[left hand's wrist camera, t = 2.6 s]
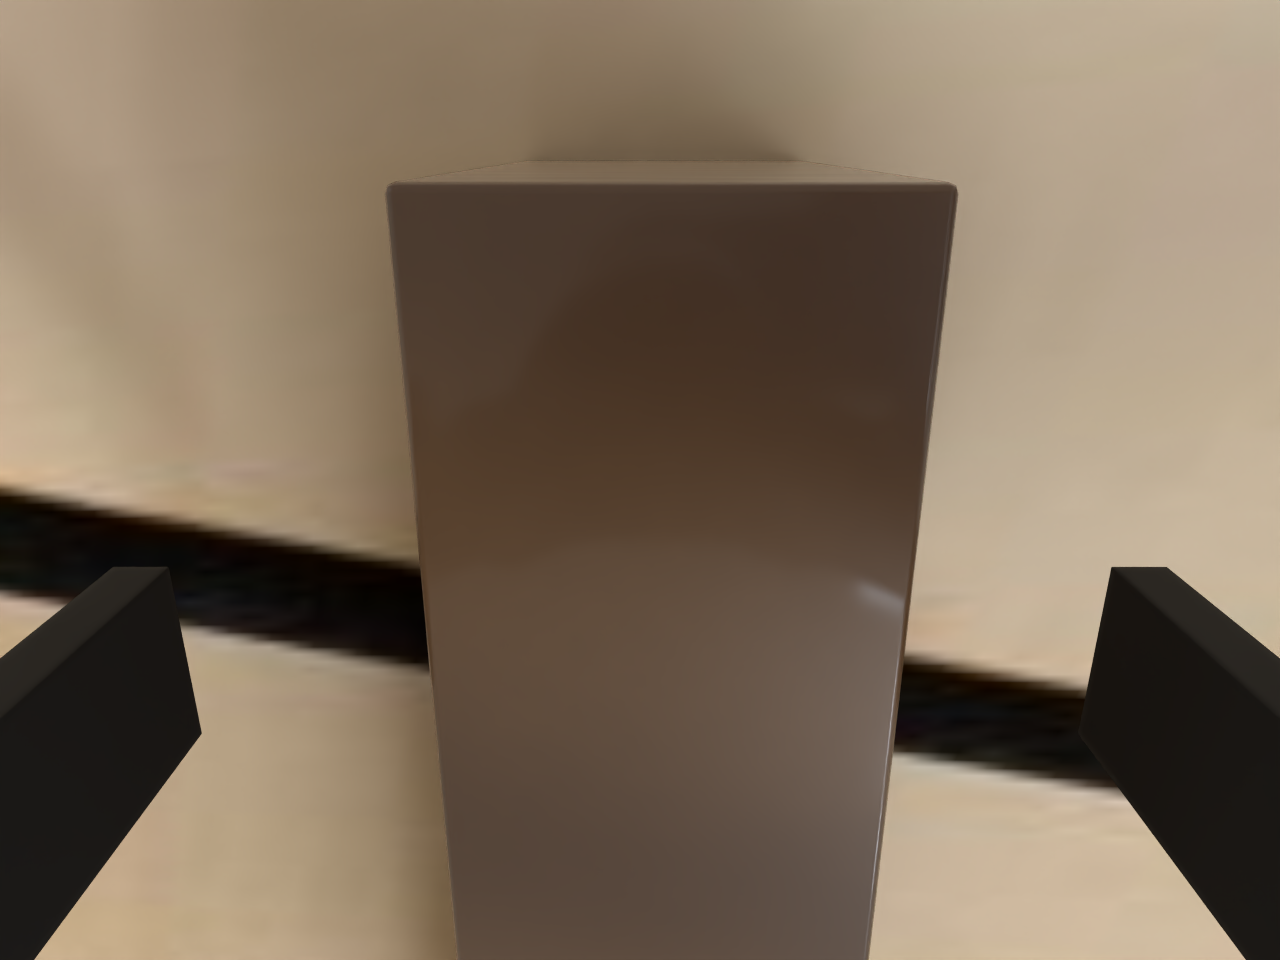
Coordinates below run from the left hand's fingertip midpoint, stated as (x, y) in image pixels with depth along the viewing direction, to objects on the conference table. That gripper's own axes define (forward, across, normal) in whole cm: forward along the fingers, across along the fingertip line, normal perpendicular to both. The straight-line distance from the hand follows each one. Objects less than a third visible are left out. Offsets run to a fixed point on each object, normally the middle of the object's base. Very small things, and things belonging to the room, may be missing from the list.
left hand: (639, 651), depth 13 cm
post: (+6, 0, -31) cm, 32 cm away
